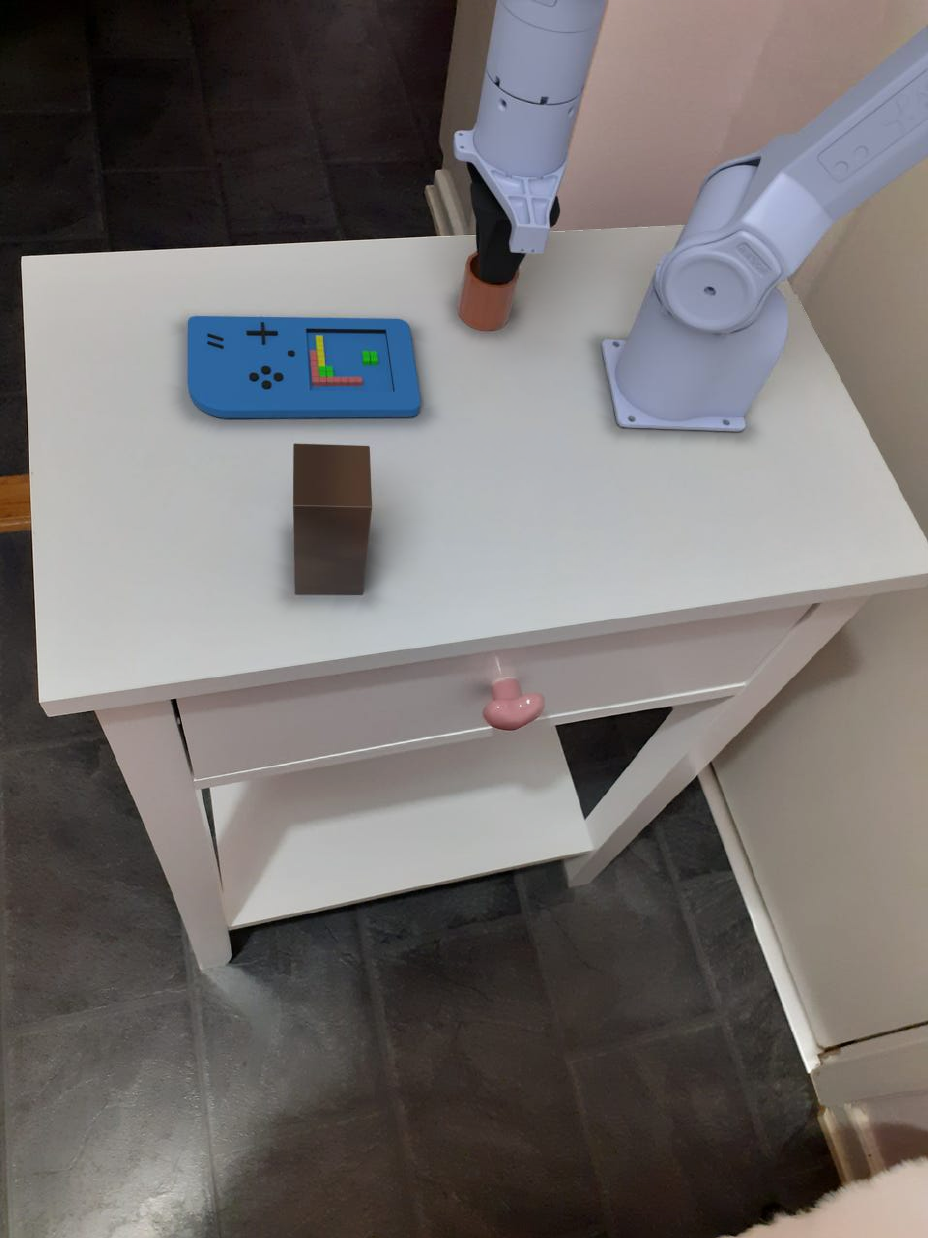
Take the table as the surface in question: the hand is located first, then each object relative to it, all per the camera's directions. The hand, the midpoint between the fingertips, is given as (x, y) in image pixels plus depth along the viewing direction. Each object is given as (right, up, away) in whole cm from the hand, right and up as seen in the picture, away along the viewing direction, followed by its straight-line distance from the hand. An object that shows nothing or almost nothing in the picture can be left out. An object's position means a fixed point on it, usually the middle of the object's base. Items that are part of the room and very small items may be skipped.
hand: (493, 267), depth 64 cm
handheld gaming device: (-13, -8, -2) cm, 15 cm away
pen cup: (-1, -2, +4) cm, 4 cm away
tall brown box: (-10, -21, -9) cm, 25 cm away
